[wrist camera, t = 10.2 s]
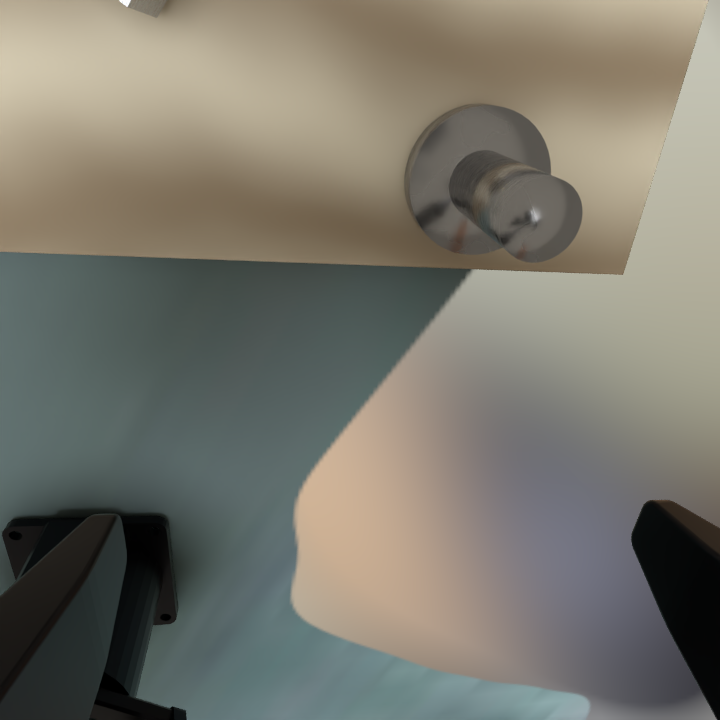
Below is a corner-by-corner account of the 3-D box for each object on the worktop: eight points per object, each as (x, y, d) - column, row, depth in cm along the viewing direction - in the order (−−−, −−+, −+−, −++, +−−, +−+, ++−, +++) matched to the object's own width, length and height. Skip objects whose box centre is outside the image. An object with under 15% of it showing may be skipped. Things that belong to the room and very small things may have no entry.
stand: (522, 248, 19) (602, 310, 14) (396, 243, 18) (436, 306, 14) (552, 109, 17) (658, 126, 12) (412, 97, 16) (466, 111, 12)
